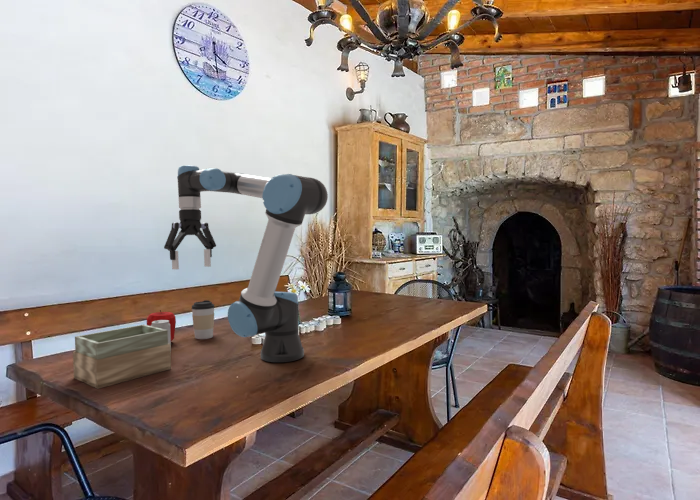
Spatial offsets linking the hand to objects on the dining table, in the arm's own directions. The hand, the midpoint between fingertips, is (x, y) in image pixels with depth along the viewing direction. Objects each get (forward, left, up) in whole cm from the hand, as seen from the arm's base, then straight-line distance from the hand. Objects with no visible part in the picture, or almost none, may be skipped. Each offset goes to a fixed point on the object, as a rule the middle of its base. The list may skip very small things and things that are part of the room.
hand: (192, 268), depth 163 cm
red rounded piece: (+18, +2, -31) cm, 36 cm away
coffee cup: (+14, -14, -31) cm, 36 cm away
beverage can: (+5, +10, -31) cm, 32 cm away
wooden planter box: (-6, +28, -30) cm, 42 cm away
